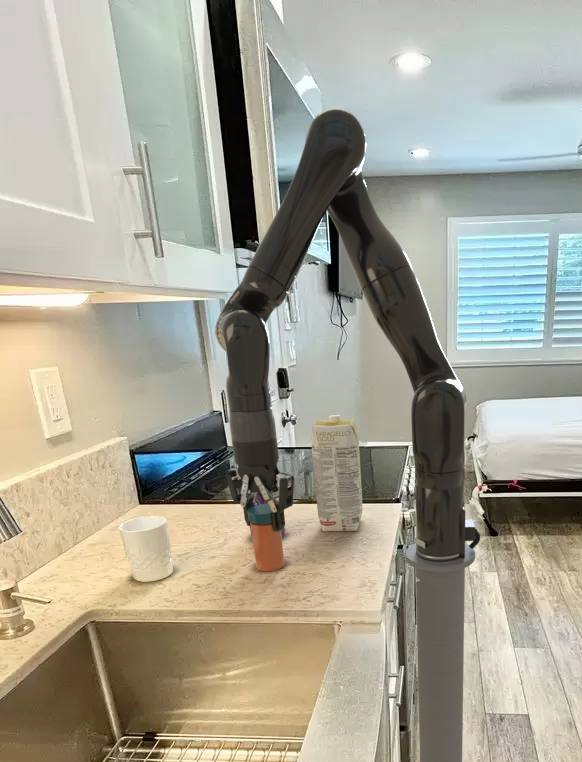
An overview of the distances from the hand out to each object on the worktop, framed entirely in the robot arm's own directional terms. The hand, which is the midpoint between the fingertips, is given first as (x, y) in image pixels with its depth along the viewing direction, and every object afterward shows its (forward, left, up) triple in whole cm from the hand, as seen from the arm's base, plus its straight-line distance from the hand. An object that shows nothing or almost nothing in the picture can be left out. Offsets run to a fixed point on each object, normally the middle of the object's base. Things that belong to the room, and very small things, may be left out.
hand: (265, 527), depth 104 cm
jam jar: (0, 0, -8) cm, 8 cm away
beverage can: (+4, -15, -8) cm, 18 cm away
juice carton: (-11, -20, -8) cm, 24 cm away
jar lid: (0, 0, +3) cm, 3 cm away
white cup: (+21, +3, -8) cm, 23 cm away
